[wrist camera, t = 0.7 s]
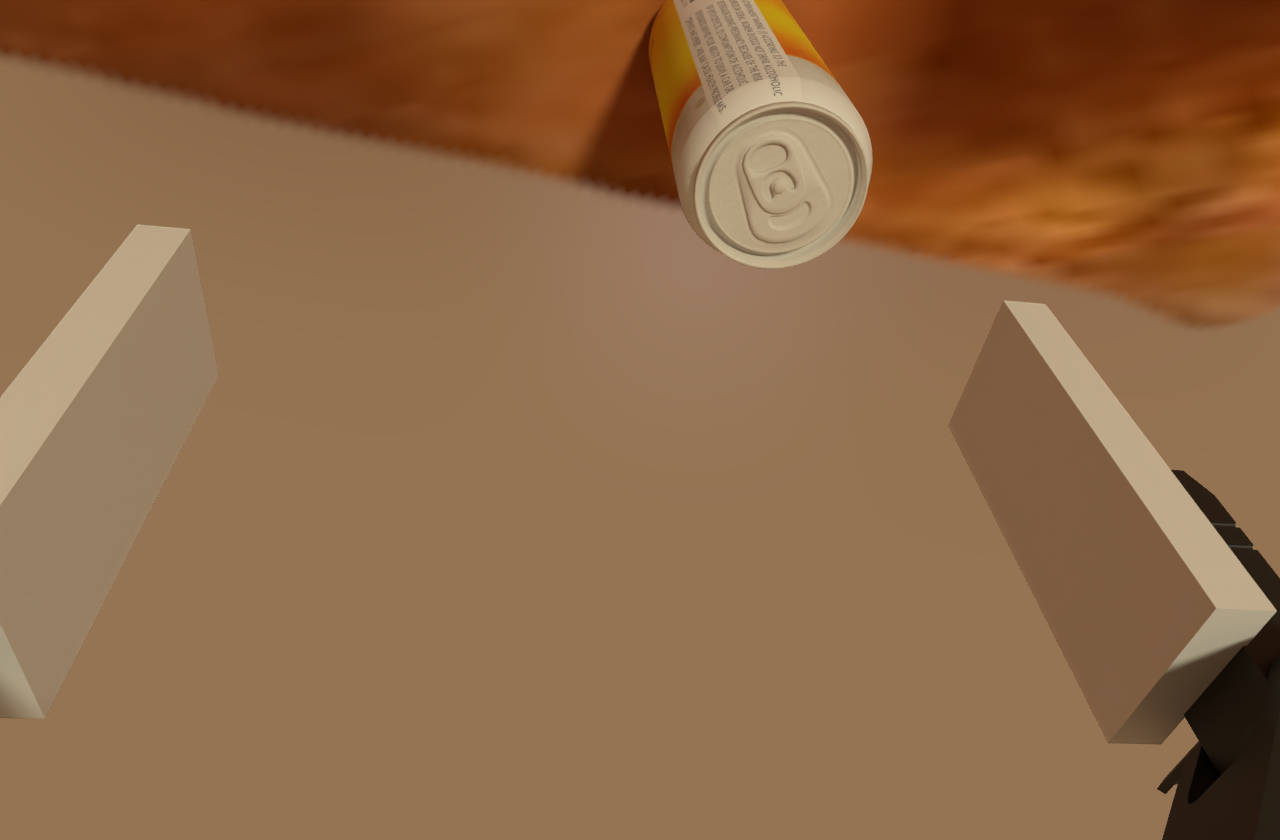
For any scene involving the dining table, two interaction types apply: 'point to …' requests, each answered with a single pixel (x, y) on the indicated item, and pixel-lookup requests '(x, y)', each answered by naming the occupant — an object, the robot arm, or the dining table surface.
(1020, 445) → the robot arm
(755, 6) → the beer can
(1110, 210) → the dining table surface
